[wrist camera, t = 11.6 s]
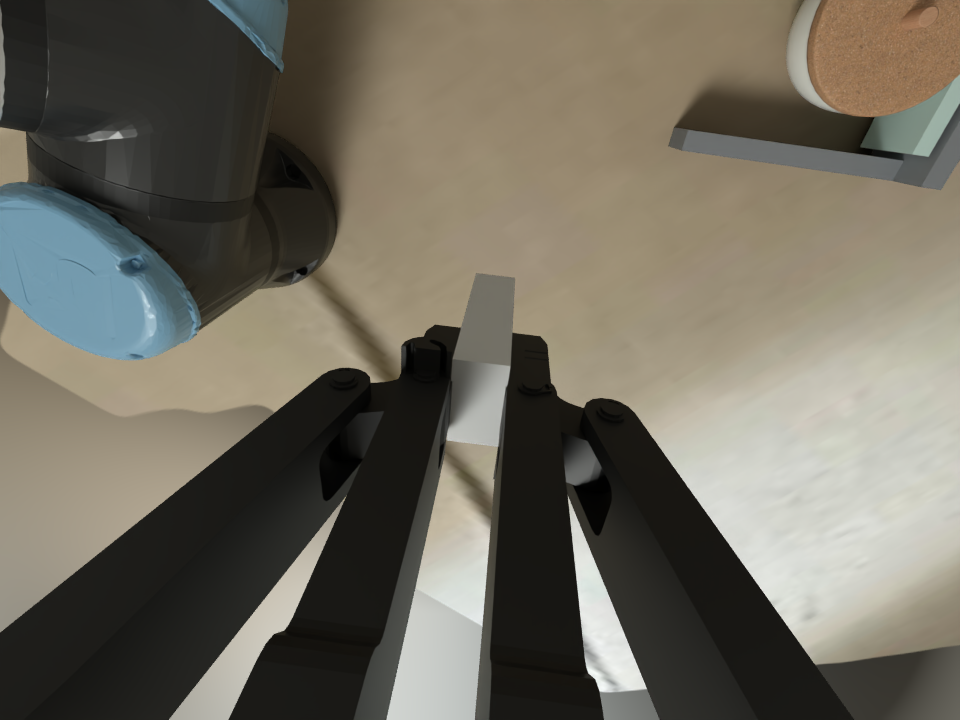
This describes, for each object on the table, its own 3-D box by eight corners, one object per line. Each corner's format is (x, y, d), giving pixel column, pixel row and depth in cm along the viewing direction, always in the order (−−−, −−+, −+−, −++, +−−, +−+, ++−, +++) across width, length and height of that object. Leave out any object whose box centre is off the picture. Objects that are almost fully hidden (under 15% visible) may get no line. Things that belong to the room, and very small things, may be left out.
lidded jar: (757, -16, 34) (829, -53, 26) (925, -85, 31) (1063, -150, 23) (764, 133, 39) (827, 142, 31) (910, 84, 36) (1020, 80, 28)
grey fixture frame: (668, 146, 40) (693, 154, 34) (756, -142, 31) (812, -202, 25) (877, 176, 39) (940, 190, 33) (1030, -106, 30) (1154, -158, 24)
